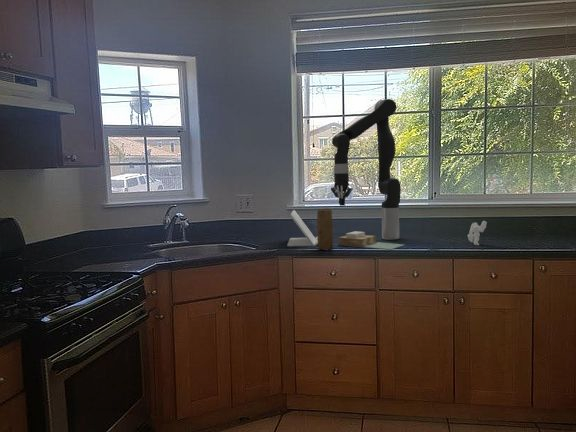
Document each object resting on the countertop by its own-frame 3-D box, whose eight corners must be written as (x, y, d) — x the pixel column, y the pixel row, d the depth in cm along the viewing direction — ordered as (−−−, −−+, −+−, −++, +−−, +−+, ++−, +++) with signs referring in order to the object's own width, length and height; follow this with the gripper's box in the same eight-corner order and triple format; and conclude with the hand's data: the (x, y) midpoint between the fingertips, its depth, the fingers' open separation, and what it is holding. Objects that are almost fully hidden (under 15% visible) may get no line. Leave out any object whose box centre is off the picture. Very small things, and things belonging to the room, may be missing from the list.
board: (352, 241, 281) (352, 234, 281) (375, 243, 272) (375, 235, 272) (338, 245, 270) (338, 237, 270) (361, 247, 261) (361, 239, 261)
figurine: (488, 244, 258) (488, 220, 256) (481, 246, 255) (481, 221, 253) (470, 242, 266) (471, 219, 265) (464, 243, 263) (464, 220, 262)
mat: (377, 242, 274) (377, 242, 274) (404, 245, 264) (404, 244, 264) (362, 247, 262) (362, 246, 262) (390, 249, 252) (390, 249, 252)
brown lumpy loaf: (333, 250, 256) (332, 209, 253) (318, 250, 256) (317, 210, 254) (332, 246, 266) (331, 207, 264) (317, 247, 266) (316, 208, 264)
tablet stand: (287, 246, 272) (286, 214, 270) (290, 239, 297) (289, 209, 295) (321, 246, 270) (321, 213, 269) (322, 238, 295) (321, 209, 293)
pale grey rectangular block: (355, 235, 277) (355, 231, 277) (364, 235, 273) (364, 232, 273) (345, 237, 270) (345, 233, 270) (355, 238, 266) (355, 234, 266)
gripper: (356, 172, 272) (356, 205, 273) (334, 172, 280) (335, 204, 282) (348, 172, 266) (348, 206, 268) (326, 172, 274) (327, 205, 276)
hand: (341, 205), depth 275 cm, fingers closed
